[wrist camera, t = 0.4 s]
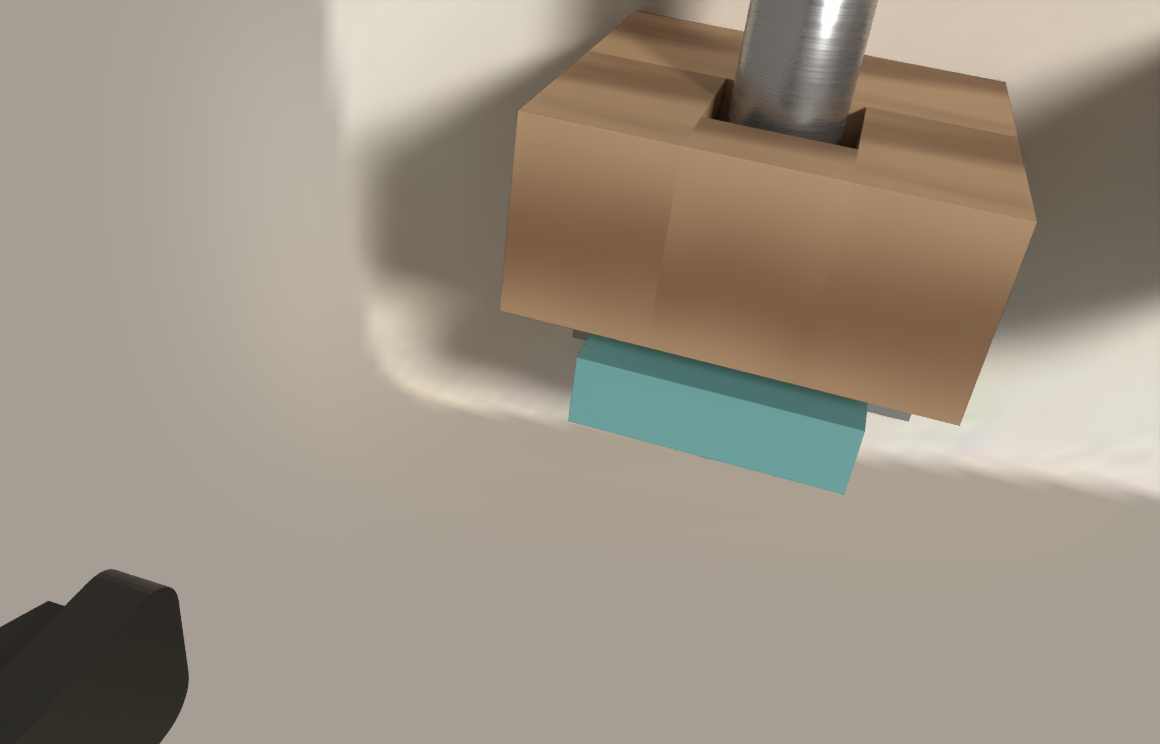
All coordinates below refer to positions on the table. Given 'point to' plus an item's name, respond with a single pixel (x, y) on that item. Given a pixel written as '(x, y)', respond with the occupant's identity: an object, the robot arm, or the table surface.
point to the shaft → (800, 66)
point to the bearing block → (771, 219)
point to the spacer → (718, 412)
